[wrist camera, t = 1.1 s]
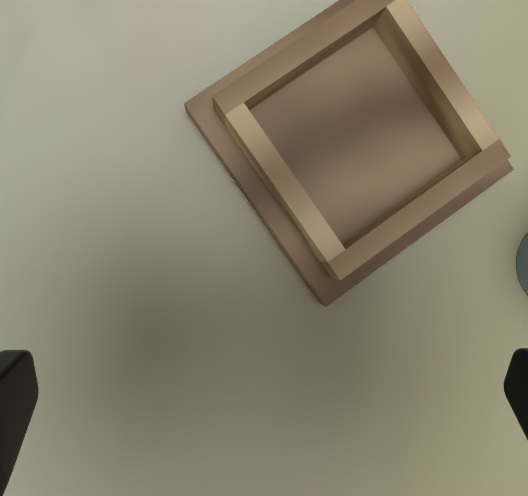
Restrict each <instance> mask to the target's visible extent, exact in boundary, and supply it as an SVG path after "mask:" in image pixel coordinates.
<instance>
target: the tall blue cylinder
mask: <svg viewBox="0 0 528 496" xmlns="http://www.w3.org/2000/svg"><path fill="white" fill-rule="evenodd" d="M516 269H517V275H518V279H519V281H520V284H521V286H522V288H523V289H524V291H525V292H526V294H527V295H528V233H527V234H526V236H525V237H524V238H523V240H522V242H521V244H520V246H519V249H518V253H517V259H516Z"/></svg>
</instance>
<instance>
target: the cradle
mask: <svg viewBox="0 0 528 496" xmlns="http://www.w3.org/2000/svg"><path fill="white" fill-rule="evenodd" d="M184 105H185V109H186V112H187V113H188V115H189V116H190V118H191V119H192V120H193V122H194V123H195V125H196V126H197V128H198V129H199V130H200V132H201V133H202V135H203V136H204V138H205V139H206V140H207V142H208V143H209V145H210V146H211V148H212V149H213V150H214V152H215V153H216V155H217V156H218V158H219V159H220V160H221V162H222V163H223V165H224V166H225V168H226V169H227V170H228V172H229V173H230V175H231V176H232V178H233V179H234V180H235V182H236V183H237V185H238V186H239V188H240V189H241V190H242V192H243V193H244V195H245V196H246V197H247V199H248V200H249V202H250V203H251V205H252V206H253V207H254V209H255V210H256V212H257V213H258V215H259V216H260V217H261V219H262V220H263V222H264V223H265V225H266V226H267V227H268V229H269V230H270V232H271V233H272V235H273V236H274V237H275V239H276V240H277V242H278V243H279V245H280V246H281V247H282V249H283V250H284V252H285V253H286V255H287V256H288V257H289V259H290V260H291V262H292V263H293V265H294V266H295V267H296V269H297V270H298V272H299V273H300V275H301V276H302V277H303V279H304V280H305V282H306V283H307V285H308V286H309V287H310V289H311V290H312V292H313V293H314V295H315V296H316V297H317V299H318V300H319V302H320V303H321V304H323V305H324V306H327V305H329V304H330V303H331V302H333V301H334V300H335V299H337V298H338V297H340V296H341V295H342V294H344V293H345V292H346V291H348V290H349V289H351V288H352V287H353V286H355V285H356V284H357V283H359V282H360V281H361V280H363V279H364V278H366V277H367V276H368V275H370V274H371V273H372V272H374V271H375V270H377V269H378V268H379V267H381V266H382V265H383V264H385V263H386V262H388V261H389V260H390V259H392V258H393V257H394V256H396V255H397V254H398V253H400V252H401V251H403V250H404V249H405V248H407V247H408V246H409V245H411V244H412V243H414V242H415V241H416V240H418V239H419V238H420V237H422V236H423V235H424V234H426V233H427V232H429V231H430V230H431V229H433V228H434V227H435V226H437V225H438V224H440V223H441V222H442V221H444V220H445V219H446V218H448V217H449V216H451V215H452V214H453V213H455V212H456V211H457V210H459V209H460V208H461V207H463V206H464V205H466V204H467V203H468V202H470V201H471V200H472V199H474V198H475V197H477V196H478V195H479V194H481V193H482V192H483V191H485V190H486V189H488V188H489V187H490V186H492V185H493V184H494V183H496V182H497V181H498V180H500V179H501V178H503V177H504V176H505V175H507V174H508V173H509V172H511V171H512V170H514V169H513V167H512V166H511V164H510V163H509V161H508V160H507V159H508V158H510V157H511V156H510V154H509V153H508V151H507V150H506V148H505V147H504V145H503V144H502V142H501V141H500V139H499V138H498V136H497V135H496V133H495V132H494V130H493V129H492V127H491V126H490V124H489V123H488V121H487V120H486V118H485V117H484V115H483V114H482V112H481V111H480V109H479V108H478V106H477V105H476V103H475V102H474V100H473V99H472V97H471V96H470V94H469V93H468V91H467V90H466V88H465V87H464V85H463V84H462V82H461V81H460V79H459V78H458V76H457V75H456V73H455V72H454V70H453V69H452V67H451V66H450V64H449V63H448V61H447V60H446V58H445V57H444V55H443V54H442V52H441V51H440V49H439V48H438V46H437V45H436V43H435V42H434V40H433V39H432V37H431V36H430V34H429V33H428V31H427V30H426V28H425V27H424V25H423V24H422V22H421V21H420V19H419V18H418V16H417V15H416V13H415V12H414V10H413V9H412V7H411V6H410V4H409V2H408V1H407V0H339V1H338V2H336V3H335V4H333V5H332V6H330V7H329V8H327V9H326V10H324V11H323V12H321V13H320V14H318V15H317V16H315V17H314V18H312V19H310V20H309V21H307V22H306V23H304V24H303V25H301V26H300V27H298V28H297V29H295V30H294V31H292V32H291V33H289V34H288V35H286V36H285V37H283V38H282V39H280V40H279V41H277V42H276V43H274V44H273V45H271V46H270V47H268V48H267V49H265V50H264V51H262V52H261V53H259V54H258V55H256V56H255V57H253V58H252V59H250V60H249V61H247V62H246V63H244V64H243V65H241V66H240V67H238V68H237V69H235V70H234V71H232V72H231V73H229V74H228V75H226V76H225V77H223V78H222V79H220V80H219V81H217V82H216V83H214V84H213V85H211V86H210V87H208V88H207V89H205V90H204V91H202V92H201V93H199V94H198V95H196V96H195V97H193V98H192V99H190V100H189V101H187V102H186V103H184Z"/></svg>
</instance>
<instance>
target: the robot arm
mask: <svg viewBox="0 0 528 496" xmlns="http://www.w3.org/2000/svg"><path fill="white" fill-rule="evenodd" d="M504 392H505V395H506V398H507V400H508V402H509V404H510V406H511V408H512V410H513V412H514V414H515V416H516V418H517V420H518V422H519V424H520V426H521V428H522V430H523V432H524V434H525V436H526V438H527V440H528V348H520V349H517V350H516V351H515V352H514V353H513V356H512V359H511V362H510V365H509V368H508V371H507V374H506V377H505V380H504ZM37 399H38V383H37V377H36V372H35V367H34V361H33V357H32V355H31V353H30V352H29V351H27V350H4V351H2V352H0V496H3V494H4V491H5V489H6V487H7V484H8V482H9V479H10V476H11V474H12V471H13V468H14V465H15V463H16V460H17V457H18V454H19V451H20V448H21V445H22V443H23V440H24V437H25V434H26V431H27V428H28V425H29V423H30V420H31V417H32V414H33V411H34V408H35V405H36V402H37Z"/></svg>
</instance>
